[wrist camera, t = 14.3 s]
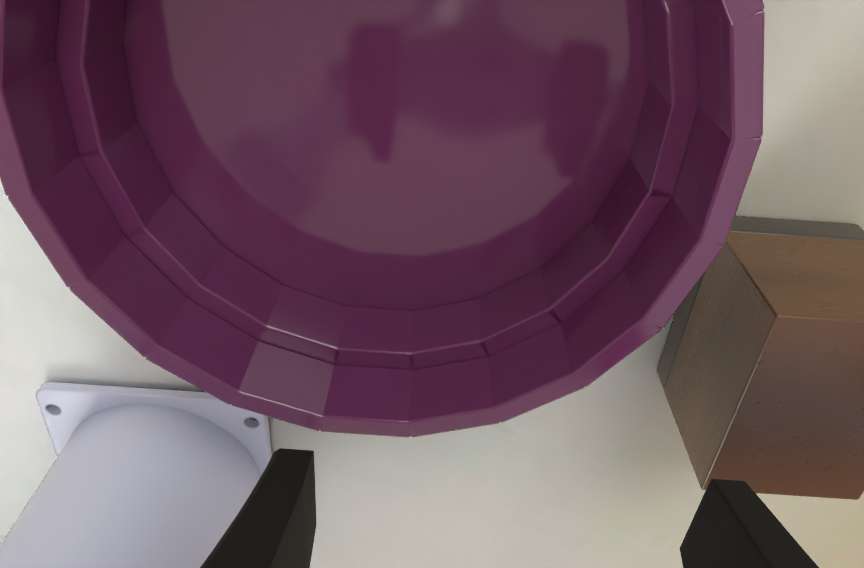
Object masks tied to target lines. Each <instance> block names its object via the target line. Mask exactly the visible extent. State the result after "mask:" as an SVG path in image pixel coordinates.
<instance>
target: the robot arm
mask: <svg viewBox="0 0 864 568" xmlns="http://www.w3.org/2000/svg"><path fill="white" fill-rule="evenodd" d="M36 399H37V401H38V404H39V407H40V410H41V413H42V415H43V418H44V421H45V424H46V426H47V429H48V432H49V435H50V437H51V440H52V443H53V446H54V448H55V451H56V454H57V459H56V460H55V462H54V463H53V465H52V466H51V468H50V469H49V471H48V472H47V474H46V476H45V477H44V479H43V480H42V482H41V483H40V485H39V486H38V488H37V489H36V491H35V493H34V494H33V496H32V497H31V499H30V500H29V502H28V503H27V505H26V506H25V508H24V510H23V511H22V513H21V514H20V516H19V517H18V519H17V520H16V522H15V523H14V525H13V527H12V528H11V530H10V531H9V533H8V534H7V536H6V537H5V539H4V540H3V542H2V544H1V545H0V568H309V567H310V561H311V555H312V548H313V542H314V535H315V529H316V501H315V473H314V451H308V450H294V449H278V450H277V451H275V452H274V453H273V455H272V452H271V442H270V432H269V422H268V416H265V415H262V414H258V413H255V412H251V411H248V410H245V409H241V408H238V407H234V406H232V405H231V404H230V405H229V404H227V403H225V402H223V401H221V400H219V399H217V398H216V397H214V396H212V395H210V394H208V393H207V392H195V391H180V390H165V389H150V388H135V387H119V386H104V385H89V384H74V383H59V382H46V383H44V384H42V385H41V387H40V388H39V389H38V391H37V392H36ZM55 405H56V406H55ZM250 417H251V418H255V419H256V420H252V419H250ZM680 552H681V557H682V563H683V568H819V567H818V566H817V565H816V564H815V563H814V562H813V560H812V559H811V558H810V557H809V556H808V555H807V553H806V552H805V551H804V550H803V549H802V548H801V546H800V545H799V544H798V543H797V542H796V541H795V539H794V538H793V537H792V536H791V535H790V534H789V532H788V531H787V530H786V529H785V528H784V527H783V525H782V524H781V523H780V522H779V521H778V519H777V518H776V517H775V516H774V515H773V514H772V512H771V511H770V510H769V509H768V508H767V506H766V505H765V504H764V503H763V502H762V501H761V499H760V498H759V497H758V496H757V495H756V493H755V492H754V491H753V490H752V489H751V488H750V487H749V485H748V484H747V483H746V482H745V481H737V480H723V479H711V480H710V483H709V485H708V487H707V489H706V492H705V494H704V496H703V498H702V500H701V503H700V505H699V507H698V509H697V511H696V514H695V516H694V518H693V520H692V522H691V525H690V527H689V529H688V531H687V534H686V536H685V538H684V540H683V542H682V545H681V547H680Z"/></svg>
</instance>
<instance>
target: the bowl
mask: <svg viewBox="0 0 864 568" xmlns="http://www.w3.org/2000/svg"><path fill="white" fill-rule="evenodd" d="M763 9H764V4H763V1H762V0H0V179H1V182H2V185H3V188H4V191H5V194H6V195H7V196H8V199H9V201H10V202H11V204H12V205H13V207H14V208H15V210H16V211H17V213H18V214H19V216H20V217H21V219H22V220H23V222H24V223H25V225H26V226H27V228H28V229H29V231H30V232H31V234H32V235H33V237H34V238H35V240H36V241H37V243H38V244H39V246H40V247H41V249H42V250H43V252H44V253H45V255H46V256H47V258H48V259H49V261H50V262H51V264H52V265H53V267H54V268H55V270H56V271H57V273H58V274H59V276H60V277H61V279H62V280H63V282H64V283H65V285H66V286H67V287H70V291H71V292H72V293H74V294H75V295H76V296H77V297H78V298H79V299H80V300H81V301H82V302H84V303H85V304H86V305H87V306H88V307H89V308H90V309H91V310H92V311H93V312H95V313H96V314H97V315H98V316H99V317H100V318H101V319H102V320H103V321H105V322H106V323H107V324H108V325H109V326H110V327H111V328H112V329H113V330H114V331H116V332H117V333H118V334H119V335H120V336H121V337H122V338H123V339H124V340H126V341H127V342H128V343H129V344H130V345H131V346H132V347H133V348H134V349H135V350H137V351H138V352H139V353H140V354H141V355H142V356H144V357H146V359H147V360H149V361H151V362H152V363H154V364H156V365H158V366H160V367H161V368H163V369H165V370H167V371H169V372H171V373H172V374H174V375H176V376H178V377H180V378H181V379H183V380H185V381H187V382H189V383H190V384H192V385H194V386H196V387H198V388H199V389H201V390H203V391H205V392H207V393H208V394H210V395H212V396H214V397H216V398H217V399H219V400H221V401H223V402H225V403H227V404H229V405H230V404H231V405H232V406H234V407H238V408H241V409H245V410H248V411H251V412H255V413H258V414H262V415H265V416H269V417H272V418H275V419H279V420H282V421H286V422H289V423H292V424H296V425H299V426H303V427H306V428H309V429H313V430H316V431H319V430H321V431H322V432H335V433H350V434H365V435H380V436H396V437H410V436H411V437H417V436H423V435H429V434H436V433H442V432H448V431H454V430H460V429H467V428H473V427H479V426H485V425H491V424H498V423H499V422H504V421H507V420H509V419H511V418H514V417H516V416H519V415H521V414H523V413H526V412H528V411H530V410H533V409H535V408H538V407H540V406H542V405H545V404H547V403H549V402H552V401H554V400H557V399H559V398H561V397H564V396H566V395H569V394H571V393H573V392H576V391H578V390H580V389H583V388H584V387H585V386H588V385H590V384H591V383H592V382H594V381H595V380H596V379H597V378H599V377H600V376H601V375H603V374H604V373H605V372H607V371H608V370H609V369H611V368H612V367H613V366H614V365H616V364H617V363H618V362H620V361H621V360H622V359H624V358H625V357H626V356H628V355H629V354H630V353H632V352H633V351H634V350H635V349H637V348H638V347H639V346H641V345H642V344H643V343H645V342H646V341H647V340H649V339H650V338H651V337H652V336H654V335H655V334H656V333H658V332H659V331H660V330H661V328H663V327H664V326H665V325H666V323H667V322H668V321H669V319H670V318H671V317H672V315H673V314H674V313H675V311H676V310H677V309H678V307H679V306H680V305H681V303H682V302H683V301H684V299H685V298H686V297H687V295H688V294H689V293H690V291H691V290H692V288H693V287H694V286H695V284H696V283H697V282H698V280H699V279H700V278H701V276H702V275H703V274H704V272H705V271H706V270H707V268H708V267H709V266H710V264H711V263H712V262H713V260H714V259H715V258H716V256H717V255H718V254H719V252H720V251H721V250H722V248H723V244H725V243H726V240H727V237H728V234H729V231H730V228H731V226H732V223H733V220H734V217H735V214H736V211H737V209H738V206H739V203H740V200H741V197H742V194H743V192H744V189H745V186H746V183H747V180H748V177H749V175H750V172H751V169H752V166H753V163H754V161H755V158H756V155H757V152H758V149H759V146H760V144H761V137H762V134H763V79H764V10H763Z"/></svg>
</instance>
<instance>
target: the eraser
mask: <svg viewBox="0 0 864 568" xmlns="http://www.w3.org/2000/svg"><path fill="white" fill-rule="evenodd" d="M657 373H658V375H659V378H660V380H661V383H662V386H663V388H664V389H665V390H664V392H665V395H666V397H667V400H668V402H669V405H670V408H671V410H672V413H673V416H674V418H675V421H676V424H677V426H678V429H679V431H680V434H681V437H682V439H683V442H684V445H685V447H686V450H687V452H688V455H689V458H690V460H691V463H692V466H693V468H694V471H695V473H696V476H697V479H698V481H699V484H700V487H701V489H703V490H706V489H707V487H708V485H709V483H710V480H711V479H723V480H737V481H745V482H746V483H747V484H748V485H749V487H750V488H751V489H752V490H753V491H754V492H755V493H762V494H778V495H793V496H808V497H824V498H839V499H854V500H857V499H859V498H860V496H861V495H862V493H863V492H864V230H863V229H861V228H860V227H859V226H858V225H855V224H840V223H826V222H812V221H797V220H783V219H769V218H754V217H740V216H735V217H734V220H733V223H732V226H731V228H730V231H729V234H728V237H727V240H726V243H725V244H723V248H722V250H721V251H720V252H719V254H718V255H717V256H716V258H715V259H714V260H713V262H712V263H711V264H710V266H709V267H708V268H707V270H706V271H705V272H704V274H703V275H702V276H701V278H700V279H699V280H698V282H697V283H696V284H695V286H694V287H693V288H692V290H691V291H690V293H689V294H688V295H687V297H686V298H685V299H684V301H683V302H682V303H681V305H680V306H679V307H678V309H677V311H676V314H675V317H674V320H673V323H672V326H671V329H670V332H669V335H668V338H667V341H666V344H665V347H664V350H663V353H662V356H661V359H660V362H659V365H658V368H657Z"/></svg>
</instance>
